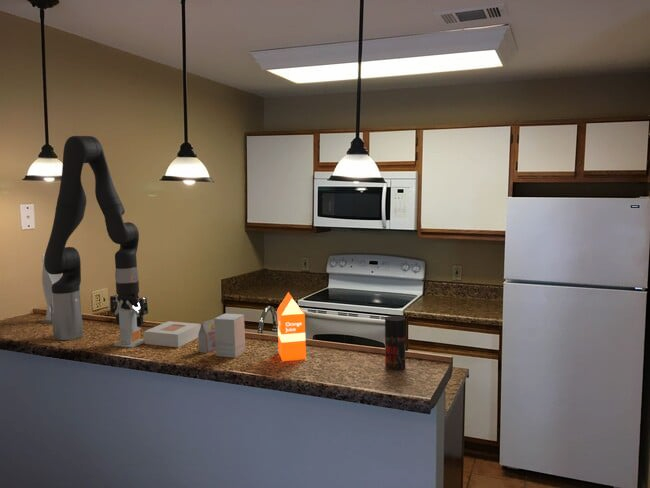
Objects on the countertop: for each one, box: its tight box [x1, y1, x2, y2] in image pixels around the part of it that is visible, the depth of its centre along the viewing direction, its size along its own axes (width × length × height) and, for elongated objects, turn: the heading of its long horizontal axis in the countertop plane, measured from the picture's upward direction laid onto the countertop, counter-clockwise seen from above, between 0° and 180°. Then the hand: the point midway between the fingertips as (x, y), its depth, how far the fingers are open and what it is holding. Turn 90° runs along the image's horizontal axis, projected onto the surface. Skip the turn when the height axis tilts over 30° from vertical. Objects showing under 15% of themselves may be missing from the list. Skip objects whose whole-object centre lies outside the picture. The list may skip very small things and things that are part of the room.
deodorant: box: [384, 315, 406, 372], centre depth 160 cm, size 6×6×15 cm
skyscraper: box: [41, 253, 63, 325], centre depth 223 cm, size 8×8×28 cm
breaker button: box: [163, 325, 184, 331], centre depth 193 cm, size 5×7×4 cm
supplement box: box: [213, 312, 247, 359], centre depth 176 cm, size 7×7×13 cm
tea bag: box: [197, 318, 216, 354], centre depth 181 cm, size 4×7×10 cm, turn 146°
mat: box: [113, 338, 145, 348], centre depth 190 cm, size 8×8×1 cm
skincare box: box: [118, 307, 141, 344], centre depth 190 cm, size 6×4×12 cm
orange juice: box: [276, 291, 307, 362], centre depth 172 cm, size 8×9×20 cm
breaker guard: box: [143, 320, 201, 348], centre depth 193 cm, size 14×14×4 cm
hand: (130, 325), depth 190 cm, fingers open, 8 cm apart
